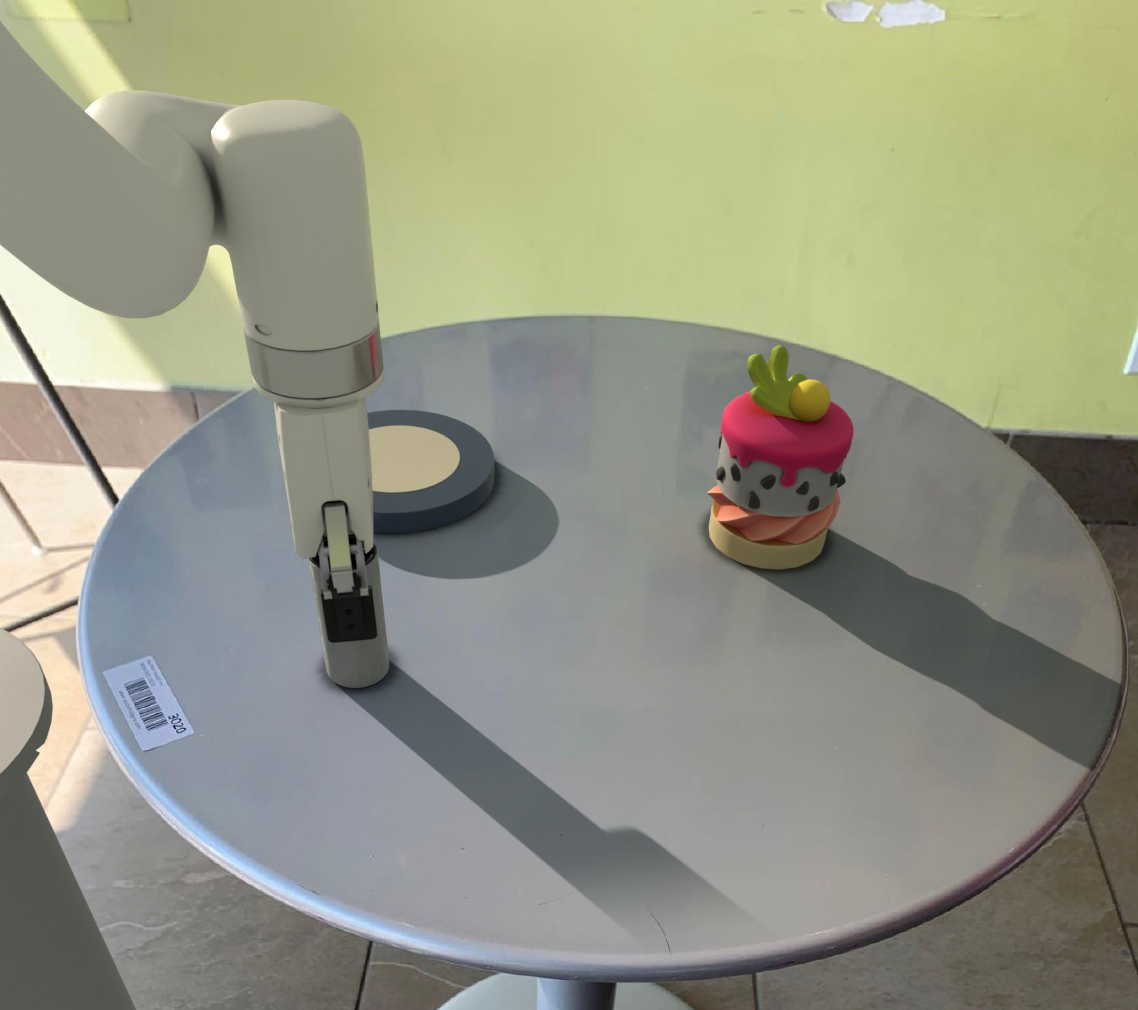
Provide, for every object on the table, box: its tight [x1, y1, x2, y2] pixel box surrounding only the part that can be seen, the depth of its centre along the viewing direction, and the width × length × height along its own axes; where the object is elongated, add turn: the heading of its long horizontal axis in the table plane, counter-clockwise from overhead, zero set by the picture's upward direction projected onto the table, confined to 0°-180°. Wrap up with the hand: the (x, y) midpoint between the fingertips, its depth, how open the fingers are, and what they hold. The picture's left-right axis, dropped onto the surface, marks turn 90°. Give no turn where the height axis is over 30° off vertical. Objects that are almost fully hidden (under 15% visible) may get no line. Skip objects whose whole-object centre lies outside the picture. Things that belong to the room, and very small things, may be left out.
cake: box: [706, 344, 854, 570], centre depth 89 cm, size 10×11×15 cm
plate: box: [367, 409, 495, 534], centre depth 98 cm, size 17×17×2 cm
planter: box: [307, 534, 390, 689], centre depth 77 cm, size 4×4×10 cm
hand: (349, 594), depth 76 cm, fingers open, 8 cm apart
